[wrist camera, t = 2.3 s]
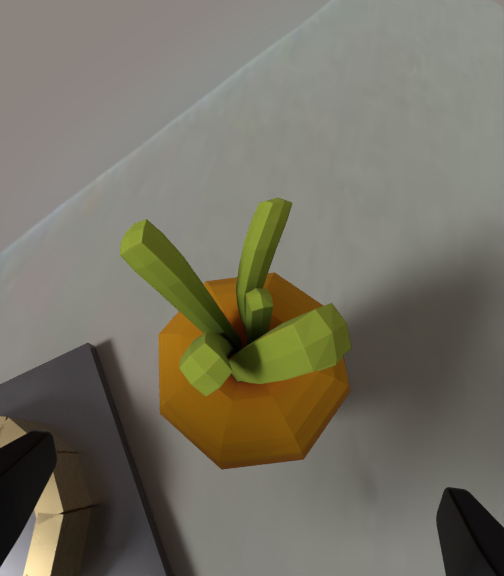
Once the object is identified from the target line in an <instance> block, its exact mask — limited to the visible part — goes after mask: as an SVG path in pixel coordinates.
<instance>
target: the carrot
mask: <svg viewBox="0 0 504 576" xmlns="http://www.w3.org/2000/svg"><path fill="white" fill-rule="evenodd" d="M291 206H292V202H289V201H286V200H283V199H280V198H275V199H271V200H268V201H265V202H261V203H259V205H258V207H257V209H256V212H255V214H254V216H253V218H252V221H251V224H250V227H249V230H248V233H247V236H246V239H245V242H244V246H243V251H242V255H241V260H240V265H239V271H238V277H237V278H229V279H221V280H213V281H206V282H205V283H204V284H203V283H202V282H201V281H200V279H199V278H198V276H197V275H196V273H195V272H194V271H193V269H192V268H191V266H190V265H189V264H188V262H187V261H186V259H185V258H184V257H183V256H182V254H181V253H180V252H179V251H178V250H177V249H176V248H175V246H174V245H173V244H172V243H171V242H170V241H169V240H168V239H167V237H166V236H165V235H164V234H163V233H162V232H161V231H160V230H158V229H157V228H156V227H155V226H154V225H153V224H151V223H150V222H149V221H148V220H147V219H146V220H143V221H140V222H137V223H135V224H134V225H133V226H132V227H131V228H130V229H129V230H128V231H127V232H126V233H125V235H124V237H123V239H122V241H121V248H120V256H121V257H122V258H123V259H124V260H125V261H126V262H127V263H128V264H129V265H130V267H131V268H132V269H133V270H134V271H135V272H136V273H138V274H139V275H140V276H141V277H142V278H143V279H144V280H145V281H147V282H148V283H149V284H150V285H151V286H152V287H153V288H154V289H156V290H157V291H158V292H159V293H160V294H161V295H162V296H163V297H164V298H165V299H166V300H168V301H169V302H170V303H171V304H172V305H173V306H174V307H175V308H176V309H177V310H178V311H179V312H178V313H177V314H176V315H175V317H174V318H173V319H172V320H171V321H170V322H169V323H168V324H167V325H166V327H165V328H164V329H163V330H162V331H161V332H160V333H159V387H160V414H161V415H162V416H163V417H164V418H166V419H167V420H168V421H169V422H170V423H171V424H172V425H173V426H174V427H175V428H177V429H178V430H179V431H180V432H181V433H182V434H183V435H184V436H185V437H186V438H188V439H189V440H190V441H191V442H192V443H193V444H194V445H195V446H196V447H197V448H199V449H200V450H201V451H202V452H203V453H204V454H205V455H206V456H207V457H208V458H210V459H211V460H212V461H213V462H214V463H215V464H216V465H217V466H218V467H219V468H221V469H229V468H237V467H245V466H254V465H262V464H270V463H278V462H286V461H294V460H303V459H304V458H305V457H306V455H307V454H308V452H309V451H310V449H311V448H312V446H313V445H314V443H315V442H316V441H317V439H318V438H319V436H320V435H321V433H322V432H323V430H324V429H325V427H326V426H327V425H328V423H329V422H330V420H331V419H332V417H333V416H334V414H335V413H336V412H337V410H338V409H339V407H340V406H341V404H342V403H343V401H344V400H345V398H346V397H347V396H348V394H349V392H350V386H349V381H348V376H347V371H346V366H345V362H344V357H343V355H344V354H346V353H347V352H348V351H349V350H350V349H351V344H350V338H349V333H348V328H347V323H346V322H345V320H344V319H343V318H342V316H341V315H340V313H339V312H338V311H337V309H336V308H335V307H334V305H333V304H332V303H331V304H328V305H325V306H323V305H322V304H320V303H319V302H317V301H316V300H314V299H313V298H311V297H310V296H308V295H307V294H305V293H304V292H303V291H301V290H300V289H298V288H297V287H295V286H294V285H292V284H291V283H289V282H288V281H286V280H285V279H283V278H282V277H280V276H279V275H277V274H276V273H268V271H269V268H270V265H271V262H272V260H273V257H274V254H275V251H276V248H277V246H278V243H279V240H280V238H281V235H282V233H283V230H284V227H285V225H286V222H287V219H288V216H289V212H290V209H291Z"/></svg>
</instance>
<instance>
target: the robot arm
mask: <svg viewBox="0 0 504 576" xmlns="http://www.w3.org/2000/svg"><path fill="white" fill-rule="evenodd" d="M56 463H57V454H56V448H55V443H54V438H53V435H52V433H51V432H49V431H42V430H33V431H30V432H28V433H27V434H25V435H23V436H21V437H19V438H17V439H16V440H14V441H12V442H10V443H8V444H6V445H5V446H3V447H1V448H0V567H1V566H2V564H3V562H4V561H5V559H6V558H7V556H8V554H9V553H10V551H11V550H12V548H13V547H14V545H15V543H16V542H17V540H18V538H19V537H20V535H21V533H22V531H23V530H24V528H25V526H26V524H27V522H28V520H29V518H30V516H31V514H32V512H33V510H34V508H35V507H36V505H37V503H38V501H39V499H40V497H41V495H42V493H43V491H44V489H45V487H46V485H47V483H48V481H49V479H50V477H51V475H52V473H53V471H54V469H55V467H56ZM436 522H437V529H438V535H439V540H440V546H441V551H442V556H443V562H444V567H445V573H446V576H504V527H503V526H502V525H501V524H500V523H499V522H498V521H497V520H496V519H495V518H494V517H493V516H492V515H491V514H490V513H489V512H488V511H487V510H486V509H485V508H484V507H483V506H482V505H481V504H480V503H479V502H478V501H477V500H476V499H475V498H474V496H473V495H472V494H471V493H469V492H468V491H467V490H464V489H458V488H451V487H448V488H446V489H445V490H444V492H443V495H442V499H441V502H440V505H439V508H438V511H437V517H436Z"/></svg>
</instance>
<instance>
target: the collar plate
mask: <svg viewBox="0 0 504 576" xmlns="http://www.w3.org/2000/svg"><path fill="white" fill-rule="evenodd" d="M33 430H42V431H49V432H51V433H52V435H53V438H54V443H55V448H56V454H57V463H56V467H55V469H54V471H53V473H52V475H51V477H50V479H49V481H48V483H47V485H46V487H45V489H44V491H43V493H42V495H41V497H40V499H39V501H38V503H37V505H36V507H35V508H34V510H33V512H32V514H31V516H30V518H29V520H28V522H27V524H26V526H25V528H24V530H23V531H22V533H21V535H20V537H19V538H18V540H17V542H16V543H15V545H14V547H13V548H12V550H11V551H10V553H9V554H8V556H7V558H6V559H5V561H4V562H3V564H2V566H1V567H0V576H173V574H172V572H171V569H170V566H169V563H168V560H167V557H166V554H165V551H164V548H163V545H162V542H161V539H160V536H159V533H158V531H157V528H156V525H155V522H154V519H153V516H152V513H151V510H150V507H149V504H148V501H147V498H146V495H145V492H144V490H143V487H142V484H141V481H140V478H139V475H138V472H137V469H136V466H135V463H134V460H133V457H132V454H131V451H130V448H129V446H128V443H127V440H126V437H125V434H124V431H123V428H122V425H121V422H120V419H119V416H118V413H117V410H116V407H115V405H114V402H113V399H112V396H111V393H110V390H109V387H108V384H107V381H106V378H105V375H104V372H103V369H102V366H101V364H100V361H99V358H98V355H97V352H96V349H95V347H94V346H93V345H91V344H90V343H86V344H84V345H82V346H80V347H78V348H76V349H74V350H72V351H69V352H67V353H65V354H63V355H61V356H59V357H57V358H55V359H53V360H51V361H48V362H46V363H44V364H42V365H40V366H38V367H36V368H34V369H32V370H30V371H28V372H25V373H23V374H21V375H19V376H17V377H15V378H13V379H11V380H9V381H7V382H4V383H2V384H0V448H1V447H3V446H5V445H6V444H8V443H10V442H12V441H14V440H16V439H17V438H19V437H21V436H23V435H25V434H27V433H28V432H30V431H33Z"/></svg>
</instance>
